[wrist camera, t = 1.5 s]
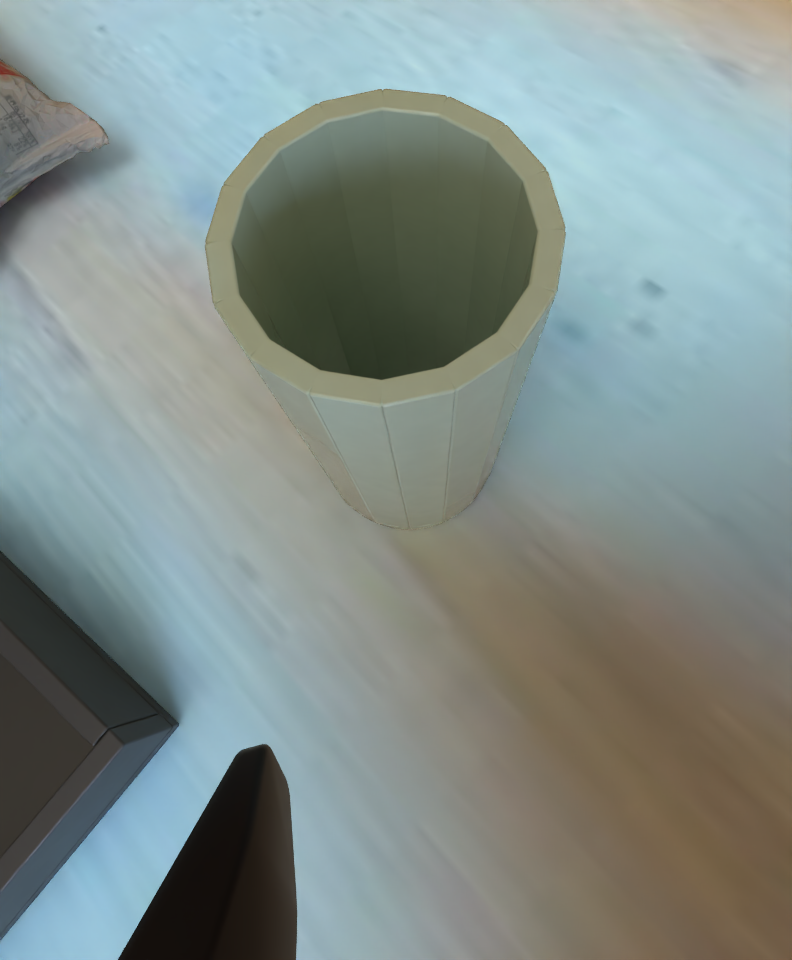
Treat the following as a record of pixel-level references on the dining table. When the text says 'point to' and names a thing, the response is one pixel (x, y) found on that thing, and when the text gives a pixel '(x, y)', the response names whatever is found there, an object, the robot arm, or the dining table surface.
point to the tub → (59, 738)
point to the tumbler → (391, 290)
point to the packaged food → (37, 132)
